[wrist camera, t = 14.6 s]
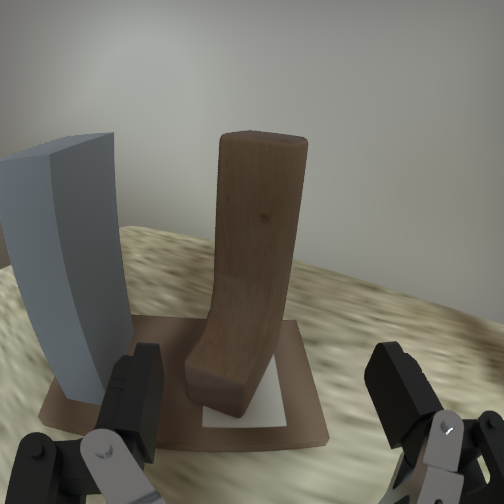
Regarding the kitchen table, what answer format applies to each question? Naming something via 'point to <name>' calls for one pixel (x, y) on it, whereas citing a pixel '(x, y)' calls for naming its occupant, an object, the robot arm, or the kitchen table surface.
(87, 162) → the slate post
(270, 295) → the wooden block
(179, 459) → the kitchen table surface
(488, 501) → the robot arm
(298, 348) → the base board
